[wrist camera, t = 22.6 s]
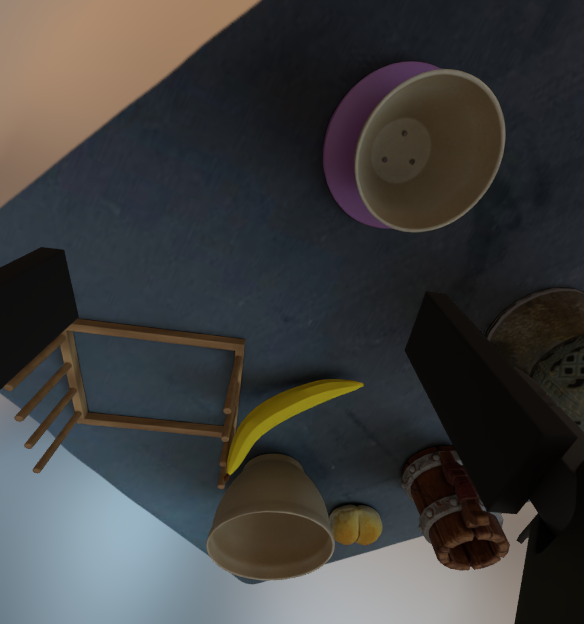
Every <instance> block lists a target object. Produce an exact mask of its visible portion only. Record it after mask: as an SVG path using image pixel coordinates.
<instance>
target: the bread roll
mask: <svg viewBox="0 0 584 624" xmlns="http://www.w3.org/2000/svg"><path fill="white" fill-rule="evenodd" d="M329 522H330V528H331V530H332V533H333V537H334V540H336V541H338V542H339V543H341V544H345V545H349V544H352V543H353V542H357V543H359V544H361V545H368V544H371V543H373V542H374V541H376V540H377V539H378V537H379V536H380V534H381V532H382V522H381V518H380V516H379V514H378V513H377V512H376V511H375V510H374V509H373V508H371V507H369V506H364V505H359V506H358V507H356V506H354V505H345V506H341V507H339V508H336V509H335V510H333V511H332V513H331V515H330V517H329Z"/></svg>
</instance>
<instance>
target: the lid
mask: <svg viewBox="0 0 584 624" xmlns="http://www.w3.org/2000/svg"><path fill="white" fill-rule="evenodd" d="M438 69H440V68H438V67H436V66H434V65H431V64H428V63H424V62H415V61H409V62H399V63H395V64H390V65H388V66H385V67H382V68H380V69H378V70H376V71H374V72H372V73H371V74H369V75H367V76H366V77H365V78H363V79H362V80H361V81H359V82H358V83H357V84H356V85H355V86H354V87H352V88H351V89H350V90H349V91H348V93H347V94H346V95H345V96H344V97H343V99H342V100H341V101H340V103H339V105H338V106H337V108H336V109H335V111H334V113H333V115H332V117H331V119H330V122H329V125H328V127H327V130H326V134H325V138H324V144H323V169H324V175H325V179H326V182H327V185H328V187H329V190H330V192H331V193H332V195H333V197H334V199H335V200H336V202H337V203H338V204H339V206H340V207H341V208H342V209H343V210H344V211H345V212H346V213H347V214H348V215H350V216H351V217H352V218H353V219H355V220H357V221H359V222H361V223H363V224H366V225H368V226H372V227H376V228H386V229H387V228H391V227H388V226H386V225H385V224H383V223H382V222H380V221H379V220H377V219H376V218H375V217H374V216H373V215H372V214H371V213H370V212H369V210H368V209H367V208H366V206H365V205H364V203H363V201H362V199H361V197H360V194H359V192H358V189H357V185H356V181H355V174H354V156H355V149H356V145H357V141H358V138H359V135H360V132H361V130H362V128H363V125H364V124H365V122H366V120H367V118H368V117H369V115H370V114H371V112H372V111H373V109H374V108H375V107H376V105H377V104H378V103H379V102H380V101H381V100H382V99H383V98H384V97H385V96H386V95H387V94H388V93H389V92H390V91H392V90H393V89H394V88H395V87H397V86H398V85H400V84H401V83H403V82H404V81H406V80H408V79H410V78H411V77H414V76H416V75H418V74H421V73H424V72H428V71H432V70H438ZM403 134H404V132H402V135H403ZM386 161H387V159H385V160H384V161H383V162H386ZM411 161H412V162H414V160H413V159H411Z"/></svg>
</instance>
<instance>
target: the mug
mask: <svg viewBox="0 0 584 624" xmlns="http://www.w3.org/2000/svg"><path fill="white" fill-rule="evenodd" d="M408 462H409V463H406V465H405V467H404V469H403V476H402V484H401V486H402V488H404V490H405V492H406V494H407V496H408V497H409V498H410V500H411V501H413V502H415V504H416V507H417V509H418V512H419V514H420V518H419V527H418V528H419V530H420V531H421V532H422V533H423V536H424V537H425V539H426V540H427V541H428V542H429V543H431V544H432V546H433V549H434V551H435V554H436V556H437V559H438V560H439V561H440V563H442V564H443V565H444V566H446V567H448V568H450V569H455V570H469V569H470V567H472V568H473V569H474V570H475V569H481V568H485V567H487V566H490V565H493V564H495V563H497V562H498V561H500V560H501V558H500V557H503V558H504V557H505V555H506V554H507V553H508V551H509V546H510V544H509V542H508V540H507V538H506V536H505V534H504V532H503V530H502V524H503V518H502V516H501V514H502V513H494V512H487V511H486V509H485V507H484V505H483V503H482V501H481V499H480V497H479V495H478V493H477V491H476V489H475V487H474V485H473V483H472V482H471V480H470V478H469V476H468V474H467V472H466V470H465V468H464V466H463V464H462V462H461V460H460V458H459V456H458V454H457V452H456V450H455V448H454V447H452V446H439V449H437V448H436V447H432V448H428V449H424V450H423V451H421V452H419V453H417V454H415V455H414V456H413V457H411V458H410V459H409V460H408Z"/></svg>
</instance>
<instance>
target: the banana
mask: <svg viewBox="0 0 584 624" xmlns="http://www.w3.org/2000/svg"><path fill="white" fill-rule="evenodd" d="M362 386H364V384H363V383H360V382H356V381H353V380H343V379H326V380H318V381H314V382H310V383H307V384H304V385H301V386H297V387H294V388H292V389H289V390H287V391H284V392H282V393H279V394H277V395H275V396H274V397H272V398H270V399H268V400H266V401H265V402H263V403H262V404H260V405H258V406H257V407H256V408H255V409H254V410H252V411H251V412H250V413H249V414H248V415H247V416H246V418H245V419H244V420H243V421H242V423H241V424H240V426H239V427H238V429H237V431H236V433H235V435H234V438H233V441H232V444H231V447H230V450H229V455H228V460H227V473H226V475H225V476H224V481H225V482H228V481H229V477H230V475H231V474H232V473H233V472H234V471H235V470H236V469H237V468H238V467H239V466H240V464H241V463H242V462H243V460H244V458H245V457H246V455H247V454H248V452H249V451H250V449H251V447H252V446H253V445H254V443H255V442H256V441H257V440H258V439H259V438H260V437H261V436H262V435H263V434H265V433H266V432H267V431H268V430H270V429H271V428H273V427H275V426H276V425H278V424H279V423H281V422H283V421H285V420H286V419H288V418H290V417H292V416H294V415H296V414H298V413H300V412H302V411H304V410H307V409H309V408H311V407H314V406H316V405H318V404H320V403H323V402H325V401H328V400H330V399H332V398H335V397H337V396H340V395H342V394H345V393H348V392H351V391H354V390H356V389H358V388H360V387H362Z"/></svg>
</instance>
